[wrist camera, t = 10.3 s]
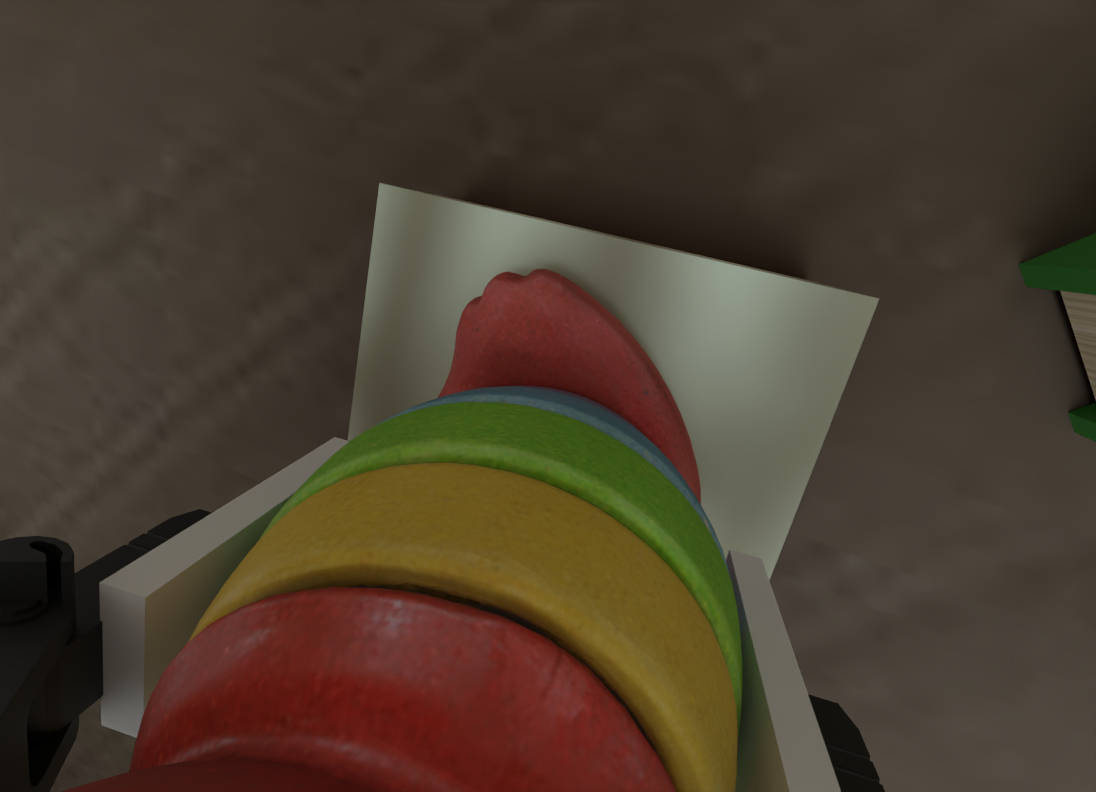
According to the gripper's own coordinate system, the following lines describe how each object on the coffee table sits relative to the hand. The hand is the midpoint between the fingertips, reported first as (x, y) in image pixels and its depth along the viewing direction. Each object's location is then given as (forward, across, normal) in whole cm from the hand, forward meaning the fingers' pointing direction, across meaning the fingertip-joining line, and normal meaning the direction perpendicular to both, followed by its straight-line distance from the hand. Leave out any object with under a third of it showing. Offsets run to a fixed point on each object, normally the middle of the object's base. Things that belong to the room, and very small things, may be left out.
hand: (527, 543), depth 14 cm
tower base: (+13, 0, 0) cm, 13 cm away
